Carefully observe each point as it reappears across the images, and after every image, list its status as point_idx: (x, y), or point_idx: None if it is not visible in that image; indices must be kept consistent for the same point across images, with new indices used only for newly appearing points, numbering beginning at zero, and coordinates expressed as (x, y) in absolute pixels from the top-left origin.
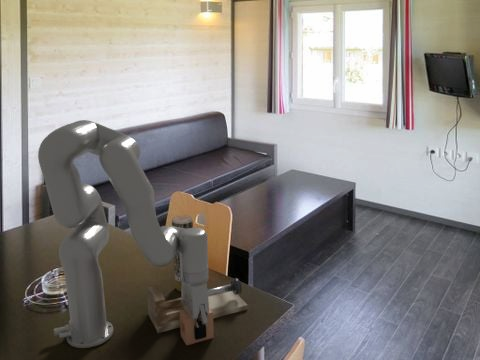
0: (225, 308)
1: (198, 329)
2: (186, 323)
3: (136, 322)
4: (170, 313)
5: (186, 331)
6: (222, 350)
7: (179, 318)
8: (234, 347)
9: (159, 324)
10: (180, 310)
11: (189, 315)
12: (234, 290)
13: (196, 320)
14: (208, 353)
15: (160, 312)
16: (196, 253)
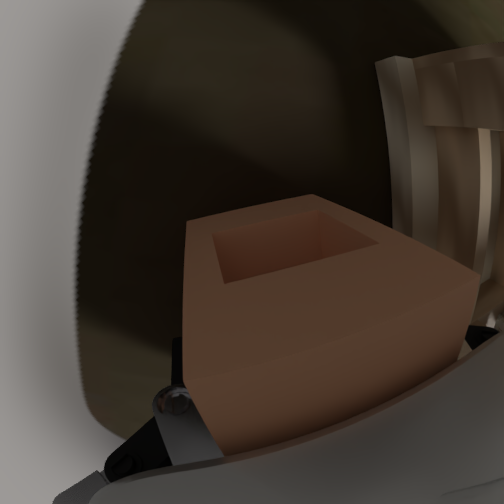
0: None
1: (175, 383)
2: (190, 336)
3: (456, 21)
4: (482, 167)
5: (184, 272)
6: (117, 393)
7: (442, 216)
8: (139, 428)
9: (423, 76)
10: (474, 289)
11: (213, 483)
12: None
13: (173, 462)
14: (91, 337)
15: (497, 81)
16: None
